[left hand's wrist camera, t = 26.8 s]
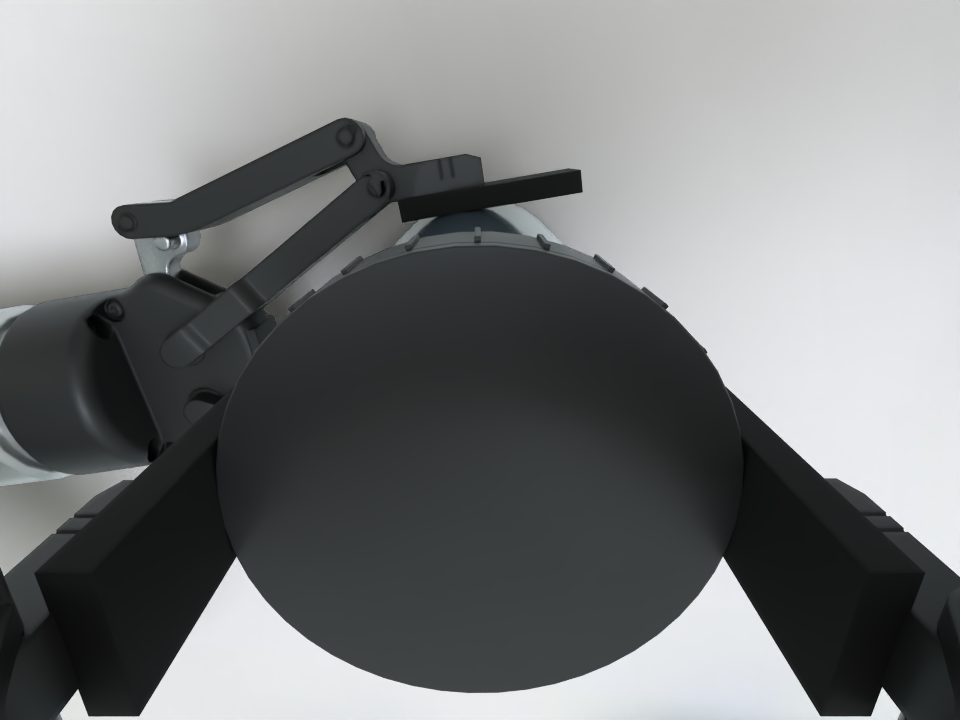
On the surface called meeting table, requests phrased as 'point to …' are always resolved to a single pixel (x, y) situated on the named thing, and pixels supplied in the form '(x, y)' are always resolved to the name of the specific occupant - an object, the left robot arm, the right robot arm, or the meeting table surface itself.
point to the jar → (482, 223)
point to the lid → (479, 464)
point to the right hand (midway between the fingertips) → (586, 307)
